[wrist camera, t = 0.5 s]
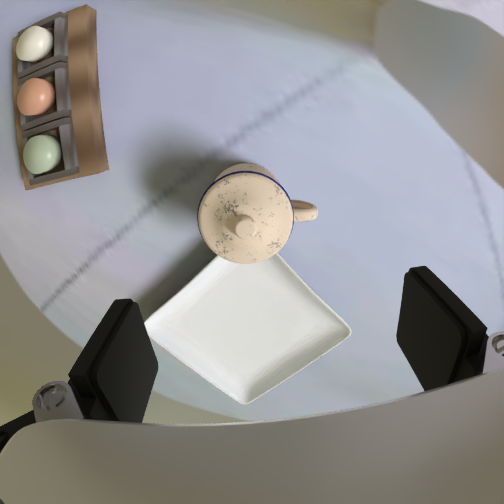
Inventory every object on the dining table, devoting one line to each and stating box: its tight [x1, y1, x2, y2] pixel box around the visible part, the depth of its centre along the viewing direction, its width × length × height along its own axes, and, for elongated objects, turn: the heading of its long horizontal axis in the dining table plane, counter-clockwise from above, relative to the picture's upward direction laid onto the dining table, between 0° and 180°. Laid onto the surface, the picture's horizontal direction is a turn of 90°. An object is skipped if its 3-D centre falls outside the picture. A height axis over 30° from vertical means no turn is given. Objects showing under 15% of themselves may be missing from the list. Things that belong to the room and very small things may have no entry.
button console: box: [13, 5, 109, 190], centre depth 30 cm, size 22×12×5 cm, turn 5°
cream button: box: [16, 26, 54, 62], centre depth 24 cm, size 4×4×2 cm
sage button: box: [23, 134, 62, 174], centre depth 30 cm, size 4×4×2 cm
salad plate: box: [144, 252, 352, 405], centre depth 43 cm, size 21×21×3 cm
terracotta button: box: [17, 78, 56, 115], centre depth 27 cm, size 4×4×2 cm
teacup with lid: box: [197, 163, 318, 264], centre depth 33 cm, size 12×9×12 cm
